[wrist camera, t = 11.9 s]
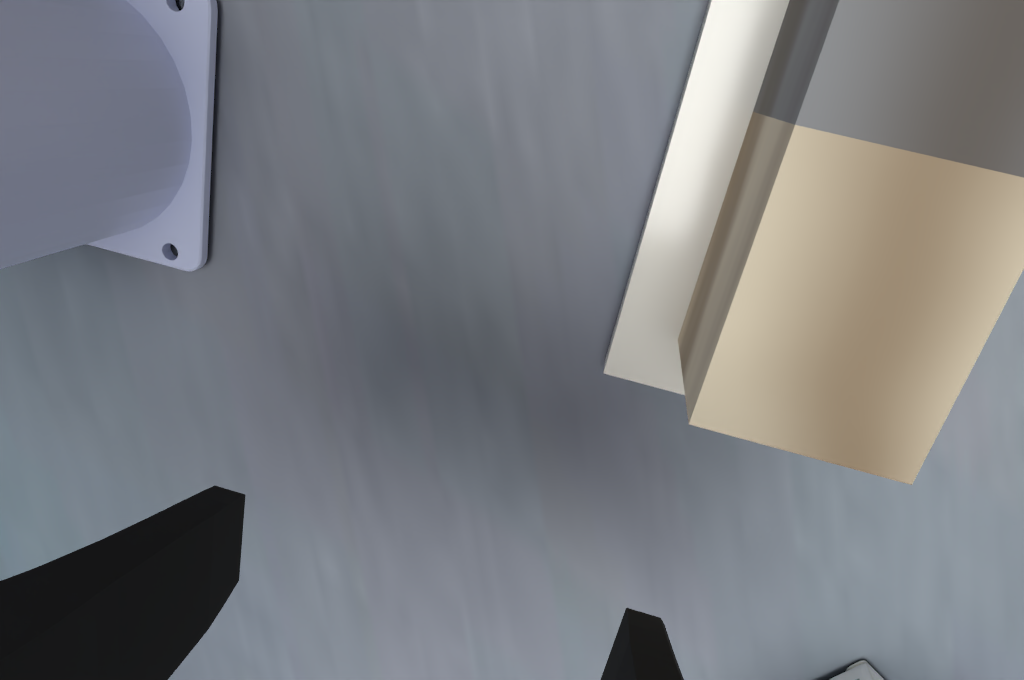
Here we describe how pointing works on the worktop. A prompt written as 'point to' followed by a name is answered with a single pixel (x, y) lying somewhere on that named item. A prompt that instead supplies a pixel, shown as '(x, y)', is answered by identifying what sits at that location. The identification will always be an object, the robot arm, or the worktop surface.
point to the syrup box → (859, 672)
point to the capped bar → (864, 232)
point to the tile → (692, 187)
